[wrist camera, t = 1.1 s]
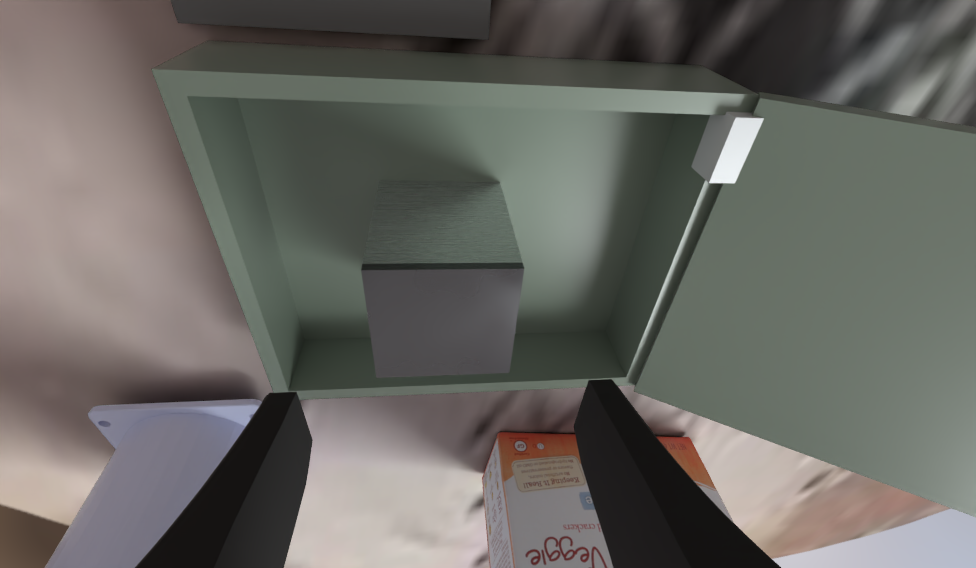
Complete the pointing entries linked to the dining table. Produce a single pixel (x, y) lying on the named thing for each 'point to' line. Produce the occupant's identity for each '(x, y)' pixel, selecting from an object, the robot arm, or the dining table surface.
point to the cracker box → (555, 501)
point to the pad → (346, 15)
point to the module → (441, 279)
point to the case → (615, 237)
